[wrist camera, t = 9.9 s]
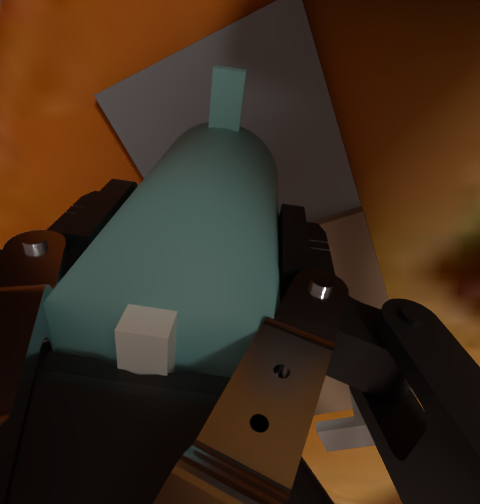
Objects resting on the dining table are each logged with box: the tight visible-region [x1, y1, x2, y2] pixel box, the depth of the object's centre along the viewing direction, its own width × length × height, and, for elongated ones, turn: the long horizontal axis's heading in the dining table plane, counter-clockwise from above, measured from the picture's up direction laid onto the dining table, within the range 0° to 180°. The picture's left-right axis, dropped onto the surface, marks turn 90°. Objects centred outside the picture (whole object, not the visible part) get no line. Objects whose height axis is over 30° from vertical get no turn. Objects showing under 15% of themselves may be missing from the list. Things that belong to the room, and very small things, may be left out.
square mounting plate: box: [312, 206, 417, 452], centre depth 22 cm, size 16×16×8 cm
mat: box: [94, 0, 361, 222], centre depth 18 cm, size 10×10×1 cm
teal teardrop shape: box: [43, 65, 280, 378], centre depth 11 cm, size 9×5×11 cm, turn 173°
